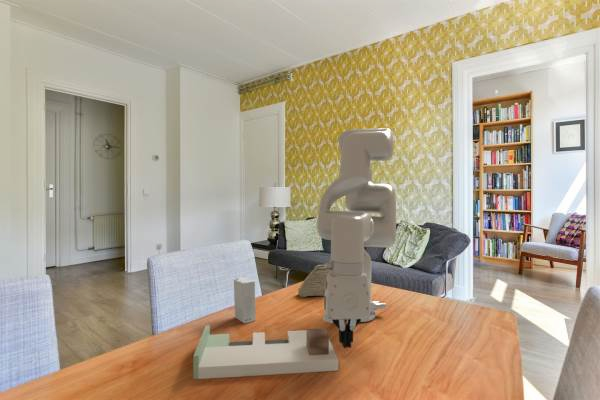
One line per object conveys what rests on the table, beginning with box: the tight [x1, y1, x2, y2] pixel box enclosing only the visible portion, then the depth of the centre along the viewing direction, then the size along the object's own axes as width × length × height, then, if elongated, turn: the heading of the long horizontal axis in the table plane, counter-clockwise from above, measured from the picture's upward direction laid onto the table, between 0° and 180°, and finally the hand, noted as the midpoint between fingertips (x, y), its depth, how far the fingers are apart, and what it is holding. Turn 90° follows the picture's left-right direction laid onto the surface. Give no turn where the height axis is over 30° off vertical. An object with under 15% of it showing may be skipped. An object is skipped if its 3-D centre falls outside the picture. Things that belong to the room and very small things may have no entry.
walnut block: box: [306, 327, 330, 355], centre depth 74 cm, size 4×4×4 cm
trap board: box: [192, 324, 339, 380], centre depth 76 cm, size 31×15×5 cm, turn 97°
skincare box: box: [233, 276, 257, 324], centre depth 97 cm, size 6×4×12 cm
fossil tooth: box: [297, 264, 331, 298], centre depth 121 cm, size 12×6×15 cm
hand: (345, 344), depth 75 cm, fingers closed
